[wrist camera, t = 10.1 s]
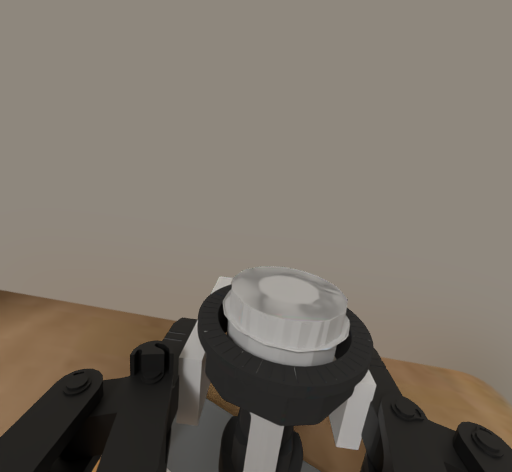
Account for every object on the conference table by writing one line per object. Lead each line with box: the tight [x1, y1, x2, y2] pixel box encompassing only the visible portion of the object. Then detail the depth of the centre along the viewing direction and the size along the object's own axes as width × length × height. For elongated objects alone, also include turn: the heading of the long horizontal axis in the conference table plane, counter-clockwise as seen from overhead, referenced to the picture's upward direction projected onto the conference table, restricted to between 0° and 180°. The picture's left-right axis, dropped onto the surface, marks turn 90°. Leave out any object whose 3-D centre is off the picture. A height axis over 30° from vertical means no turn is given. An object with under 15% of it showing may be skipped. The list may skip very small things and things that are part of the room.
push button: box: [197, 266, 373, 472], centre depth 10 cm, size 7×5×10 cm
